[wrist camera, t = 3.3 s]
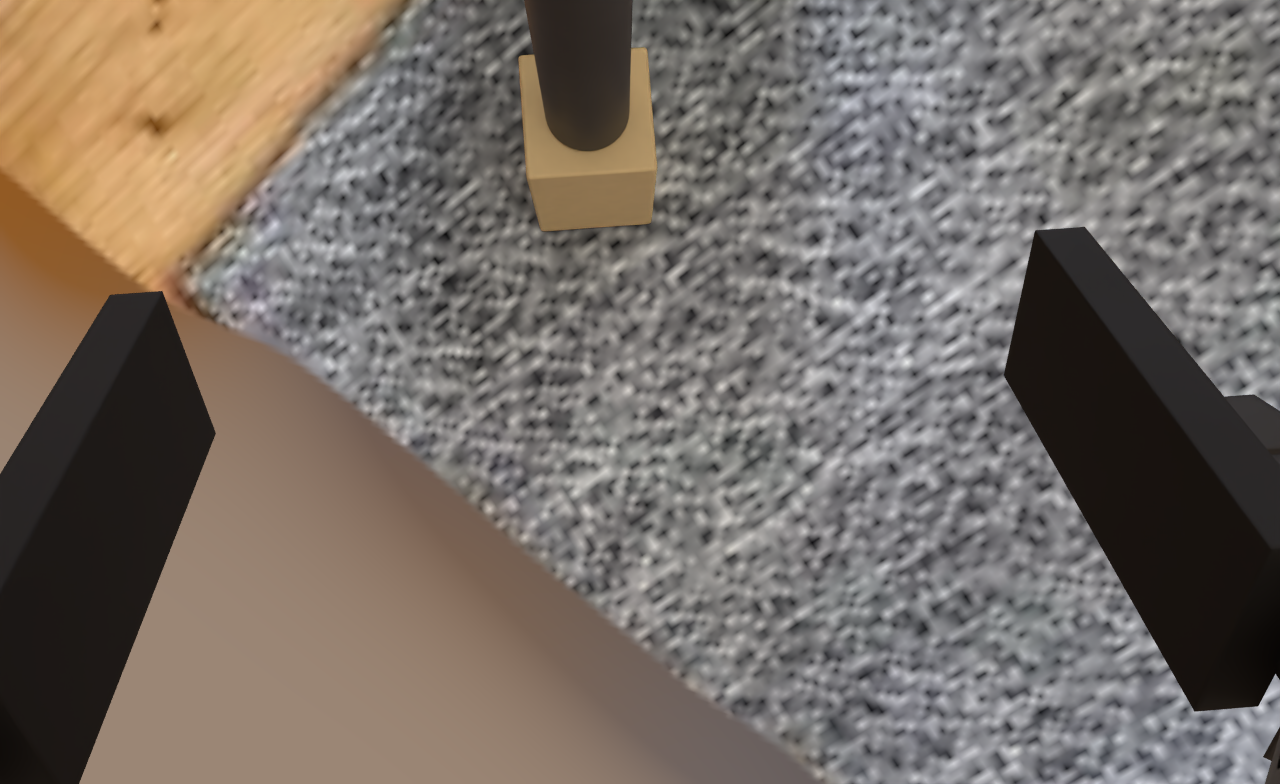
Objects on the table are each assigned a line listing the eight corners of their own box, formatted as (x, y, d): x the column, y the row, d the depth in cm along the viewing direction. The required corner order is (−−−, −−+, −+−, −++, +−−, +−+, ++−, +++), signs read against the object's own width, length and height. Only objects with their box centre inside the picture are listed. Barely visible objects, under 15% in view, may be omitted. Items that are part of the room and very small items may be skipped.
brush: (540, 232, 32) (464, -52, 16) (533, 125, 33) (452, -254, 17) (651, 224, 32) (683, -66, 16) (642, 118, 33) (665, -266, 17)
